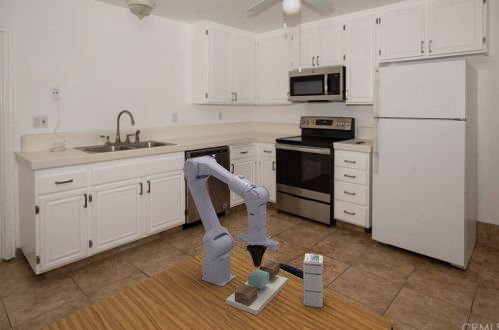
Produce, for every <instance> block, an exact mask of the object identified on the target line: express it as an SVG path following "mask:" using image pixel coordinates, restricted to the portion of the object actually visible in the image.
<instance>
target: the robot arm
mask: <svg viewBox="0 0 499 330" xmlns="http://www.w3.org/2000/svg"><path fill="white" fill-rule="evenodd" d="M182 170H183V174H184V176H185V178H186V179H185V180H186V182H187V187H188V189H189V191H190V194H191V197H192V199H193V202H194V204H195V206H196V209H197V211H198V214H199V217H200V220H201V223H202V224H203V225H202V226H203V227H204V230H205V234H204V236H203V237H202V242H203V249H204V253H205V255H204V256H203V258H202V277H201V280H203V281H204V282H208V283H210V284H214V285H217V286H219V287H224V286H226V285H227V284H229V283H230V282H231V281H232V280H234V279H235V278H236V276H237V275H236V274H233V273H231V254H232V250H233V248H234V247H235V240H234V238H233V236H232V235H231V233H230V232H229V229H228V228H226V227H225V226H222V225H221V223H220V220H219V218H218V216H217V213H216V210H215V208H214V206H213V203H212V200H211V198H210V195H209V192H208V190H207V188H206V182H207V181H208V179H209V178H210V176H212V177H215V178H216V179H218V180H220V181H221V182H223V183H225V184H227V185H228V190H229V191H231V192H232V193H234V194H236V196H238V197H240V198H241V199H242V200H243V202H244V204H245V206H246V211H247V231H248V233H241V232H240V233H238V234H236V241H238V242H239V241H240V242H241V241H243V242H246V243H247V246H246V250H247V251H248V253H249V255H250V257H251V260H252V264H253V267H255V268H260V265H261V264H262V263H263V257H264V255H265V253H266V251H267V249H268V248H270V249H272V250H273V251H277V250H279V248H280V242H279V241H276V240H274V239H271V238H269V237H267V203H268V202H269V200H270V197H271V196H270V192H269V189H268V188H267V187H266V186H264V185H257V184H256V183H255V182H251V181H250V180H248V179H246V178H245V175H243V174H232V173H231V172H230V171H228V170H227V168H224V166H222V165H220V164H219V163H217V159H215V158H213V157H212V156H211V155H204V156H199V157H194V158H187V159H186V160H185V161H184V164H183V167H182Z"/></svg>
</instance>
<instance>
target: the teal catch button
mask: <svg viewBox="0 0 499 330" xmlns="http://www.w3.org/2000/svg"><path fill="white" fill-rule="evenodd" d="M247 281H248V285H251V286H254V287H257V288H260V289H262V288H263V287H264V286H265V285H266V284H267V283H268V282H269V273H268V272H265V271H261V270H260V269H257V268H255V269H254V270H253V271H252V272H250V273H249V274H248V275H247Z"/></svg>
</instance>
